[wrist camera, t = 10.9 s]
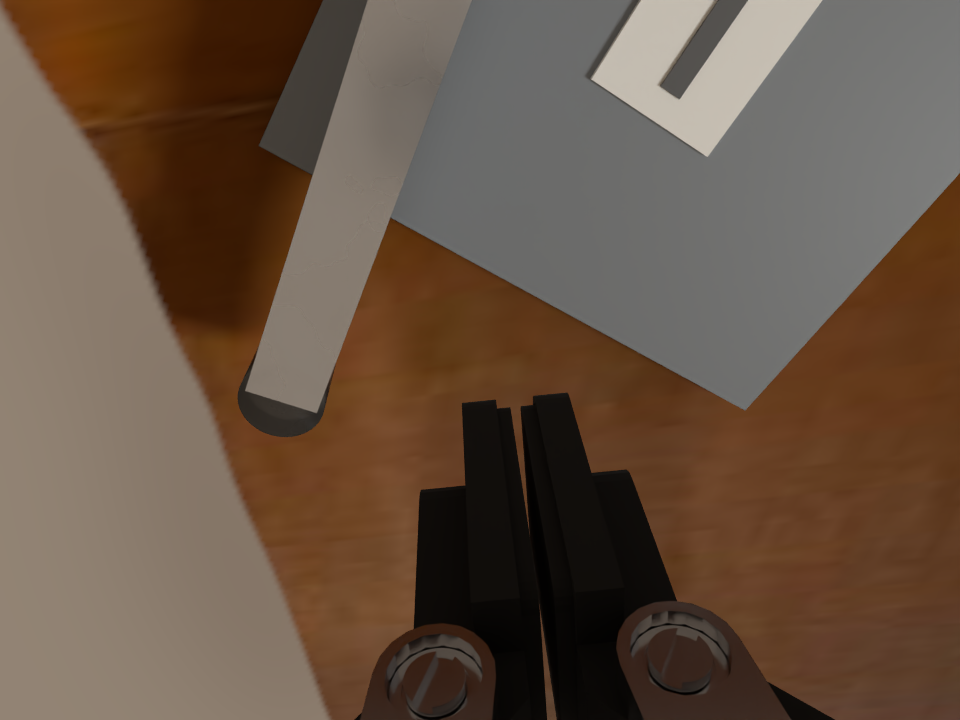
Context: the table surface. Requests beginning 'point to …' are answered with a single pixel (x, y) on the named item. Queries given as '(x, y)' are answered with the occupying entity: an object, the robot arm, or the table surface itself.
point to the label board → (671, 159)
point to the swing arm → (348, 206)
